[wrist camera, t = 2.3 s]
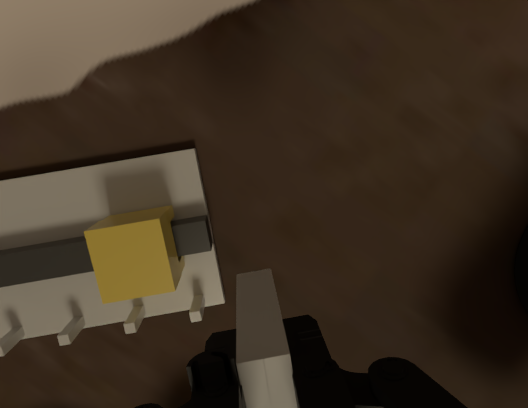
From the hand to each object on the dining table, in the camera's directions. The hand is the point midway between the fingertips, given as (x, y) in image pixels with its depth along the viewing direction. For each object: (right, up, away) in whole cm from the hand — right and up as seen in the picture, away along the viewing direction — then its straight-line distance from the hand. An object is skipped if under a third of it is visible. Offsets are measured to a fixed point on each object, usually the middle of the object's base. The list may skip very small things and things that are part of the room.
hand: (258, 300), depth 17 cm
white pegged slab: (-16, 0, +15) cm, 22 cm away
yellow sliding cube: (-9, +1, +14) cm, 17 cm away
